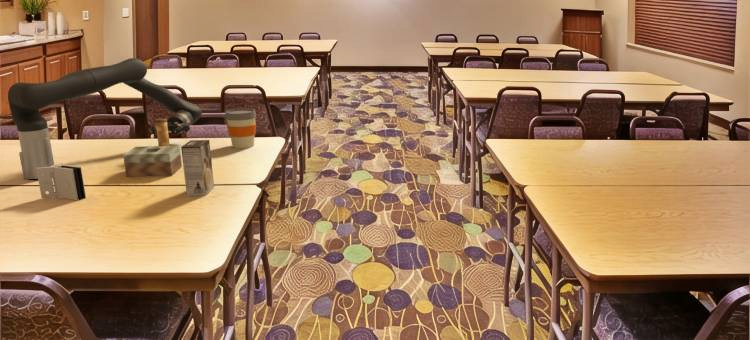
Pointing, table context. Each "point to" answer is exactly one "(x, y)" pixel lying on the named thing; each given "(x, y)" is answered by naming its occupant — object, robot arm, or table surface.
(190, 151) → the coffee box
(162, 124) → the key peg
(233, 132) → the reusable coffee cup
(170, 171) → the square hole block
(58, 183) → the hinge
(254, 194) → the table surface
